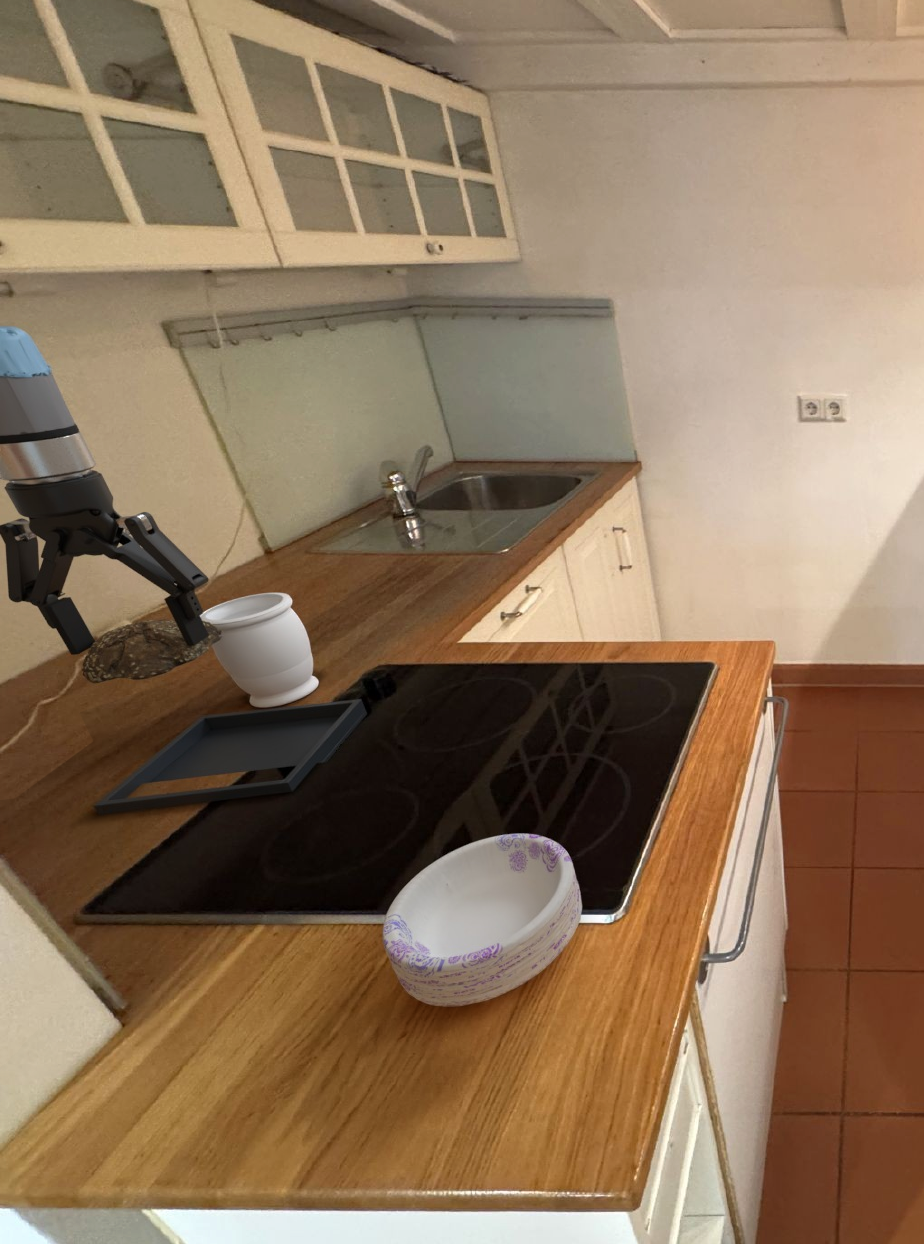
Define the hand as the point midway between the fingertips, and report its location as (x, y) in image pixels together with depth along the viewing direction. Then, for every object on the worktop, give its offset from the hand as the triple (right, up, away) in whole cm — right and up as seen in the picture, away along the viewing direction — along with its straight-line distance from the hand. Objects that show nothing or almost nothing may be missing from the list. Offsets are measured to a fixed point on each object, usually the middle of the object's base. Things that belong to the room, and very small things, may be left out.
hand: (142, 645), depth 87 cm
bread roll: (0, -2, +1) cm, 2 cm away
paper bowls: (+57, -28, -22) cm, 67 cm away
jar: (+1, -9, +20) cm, 22 cm away
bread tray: (+9, -16, +5) cm, 19 cm away
